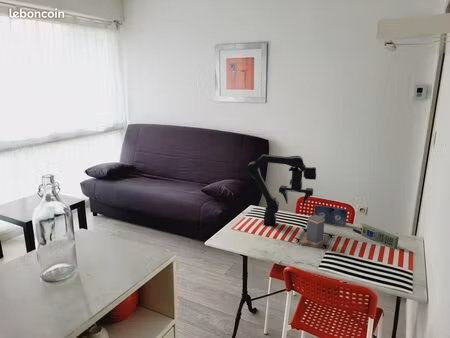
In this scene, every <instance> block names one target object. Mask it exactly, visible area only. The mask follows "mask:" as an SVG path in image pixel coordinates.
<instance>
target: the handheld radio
mask: <svg viewBox="0 0 450 338" xmlns="http://www.w3.org/2000/svg"><path fill="white" fill-rule="evenodd" d="M360 227H361V228H360V230H358V229H356V228H352V231H353V232H356V233H358V234H360V235H361V236H362V237H364V238H366V239H369V240H371V241H374V242H377V243H379V244H381V245H384V246H386V247H389V248H391V249H394V250H396V249H398V244H399V238H400V236H398V235H395V234H393V233H390V232H388V231H385V230H381V229H380V228H377V227H374V226H372V225H370V224H366V223H364V222H362V223H361V225H360Z"/></svg>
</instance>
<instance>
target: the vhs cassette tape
mask: <svg viewBox="0 0 450 338" xmlns="http://www.w3.org/2000/svg"><path fill="white" fill-rule="evenodd" d="M313 215H318V216H320V217H323V218H325V221H324V224H330V225H334V226H340V227H346V225H347V216H348V208H341V207H333V206H328V205H320V204H315V205H314V212H313Z"/></svg>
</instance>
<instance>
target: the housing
mask: <svg viewBox="0 0 450 338" xmlns="http://www.w3.org/2000/svg"><path fill="white" fill-rule="evenodd" d="M324 221H325V218H323V217H320V216H318V215H314V214H313V215H310V216H308V217H307V226H306V233H307V236H306V240H308V241H310V242H313V243H315V244H317V243H319V242H321V241H323V235H324V230H325V223H324Z"/></svg>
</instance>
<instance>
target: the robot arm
mask: <svg viewBox="0 0 450 338" xmlns="http://www.w3.org/2000/svg"><path fill="white" fill-rule="evenodd" d="M265 163H269V164H280V165H287V166H290V167H289V168H288V171H289V172H291V179H290V181H289V186H290V187H288V185H282V184H281V185H280V186H279V187H278V193H280V194H281V195H283V197H284V200H285V203H286V204H287V205H288V204H289V203H288V202H289V198H288V195H289V194H288V192H293V193H301V194H304V197H303V202H302V206H303V207H304V206H305V204H306V201H307V199H308V198H310V197H312V196H313V195H314V188H312V187H306V188H305V189H303V178H304V179H305V180H314V181H315V180H316V179H317V167H315V166H314V167H312V166H311V167H310V166H308V167H307V166H306V164H305V163H304V160H303V157H301V156H300V155H291V156H280V155H271V154H270V155H269V154H265V153H264V154H262V155H261V156H260V157H258V158H256V159H255V160H254V161H251V162H249V164H248V165H247V167H246V168H247V172H248V173H249V175H250V176H251V177H252V178H253V179H254V180H255V182H256V184H257V186H258V188H259V189H260V192H261V194H262V195H263V197H264V200H265V202H266V207H265V208H264V209H265V210H264V214H263V223H262V225H263V226H269V227H275V225H276V224H277V216H276V214H277V213H278V212H279V207H280V202H279V201H278V199H277V196H274V197H273V196H272V193H271V192H270V190H269V187H268V186H267V184H266V182H265V180H264V178H263V176H262V174H261V173H262V172H261V170H260V168H261V167H262V166H263V165H264V164H265Z"/></svg>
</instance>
